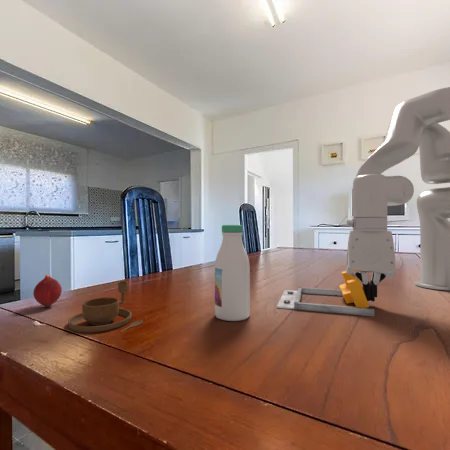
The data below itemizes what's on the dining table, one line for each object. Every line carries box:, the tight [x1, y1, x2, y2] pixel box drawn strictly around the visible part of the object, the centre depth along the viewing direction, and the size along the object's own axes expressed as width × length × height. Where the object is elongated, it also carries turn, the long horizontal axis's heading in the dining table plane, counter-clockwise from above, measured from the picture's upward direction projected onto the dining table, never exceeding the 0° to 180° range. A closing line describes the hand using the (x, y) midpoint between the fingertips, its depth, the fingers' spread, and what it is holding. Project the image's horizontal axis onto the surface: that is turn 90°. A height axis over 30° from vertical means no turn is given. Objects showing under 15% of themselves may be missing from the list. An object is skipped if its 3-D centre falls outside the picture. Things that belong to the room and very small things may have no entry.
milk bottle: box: [214, 224, 251, 322], centre depth 61 cm, size 8×8×20 cm
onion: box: [32, 273, 63, 308], centre depth 69 cm, size 6×6×8 cm
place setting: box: [67, 280, 144, 333], centre depth 61 cm, size 18×20×6 cm
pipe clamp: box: [339, 270, 370, 308], centre depth 71 cm, size 12×4×6 cm, turn 164°
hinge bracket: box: [276, 286, 375, 317], centre depth 73 cm, size 18×21×2 cm
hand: (369, 299), depth 69 cm, fingers closed
